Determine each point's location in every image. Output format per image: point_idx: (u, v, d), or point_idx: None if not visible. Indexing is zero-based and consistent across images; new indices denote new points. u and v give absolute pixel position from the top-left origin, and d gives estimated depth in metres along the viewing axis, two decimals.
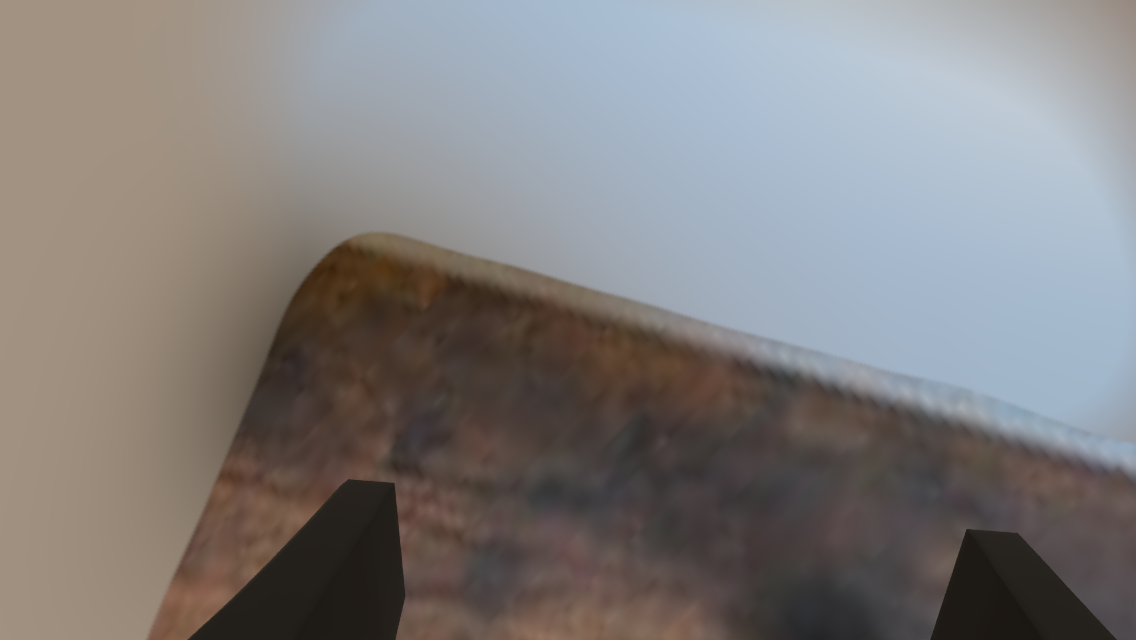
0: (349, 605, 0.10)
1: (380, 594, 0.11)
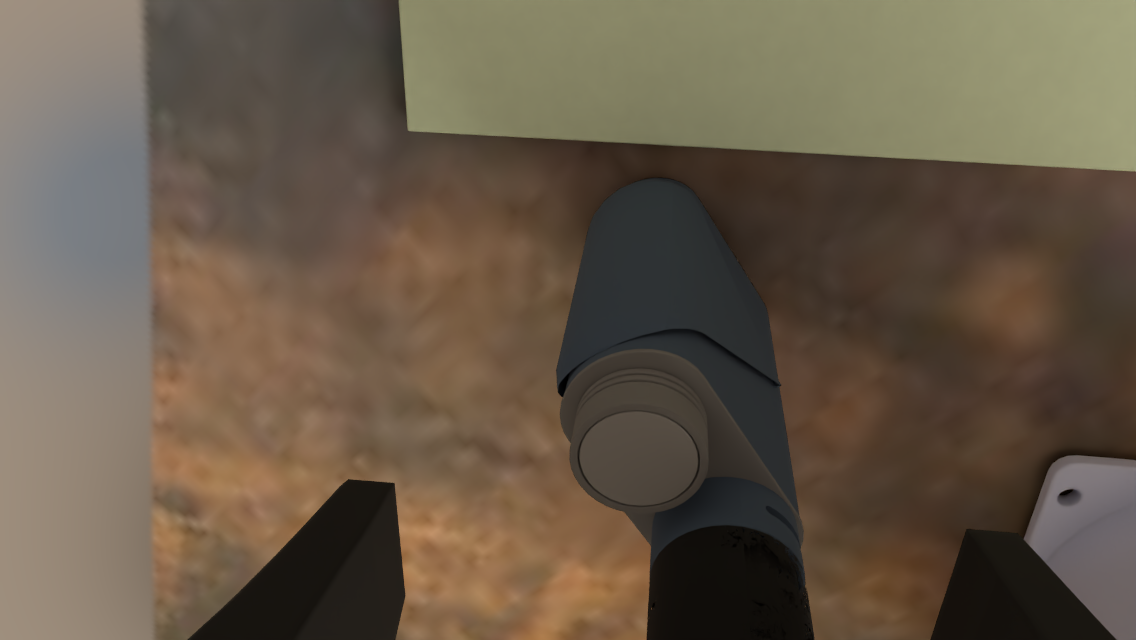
0: (349, 605, 0.10)
1: (380, 594, 0.11)
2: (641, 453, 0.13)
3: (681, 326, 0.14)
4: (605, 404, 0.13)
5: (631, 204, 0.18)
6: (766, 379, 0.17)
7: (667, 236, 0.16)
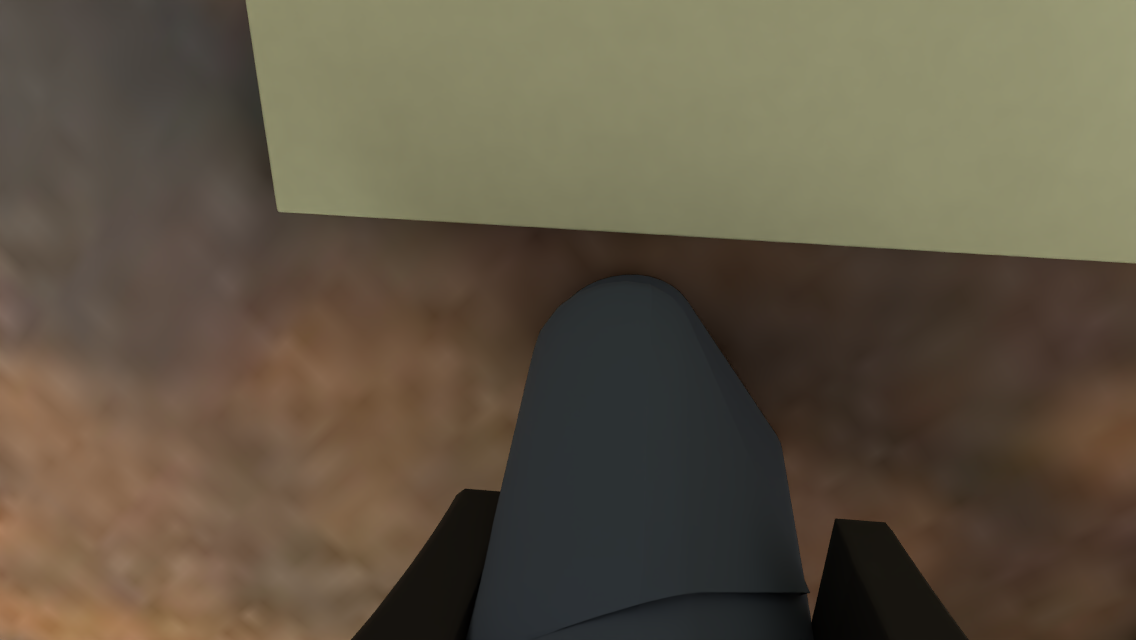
0: None
1: None
2: None
3: (665, 592, 0.08)
4: None
5: (592, 327, 0.12)
6: None
7: (643, 393, 0.11)
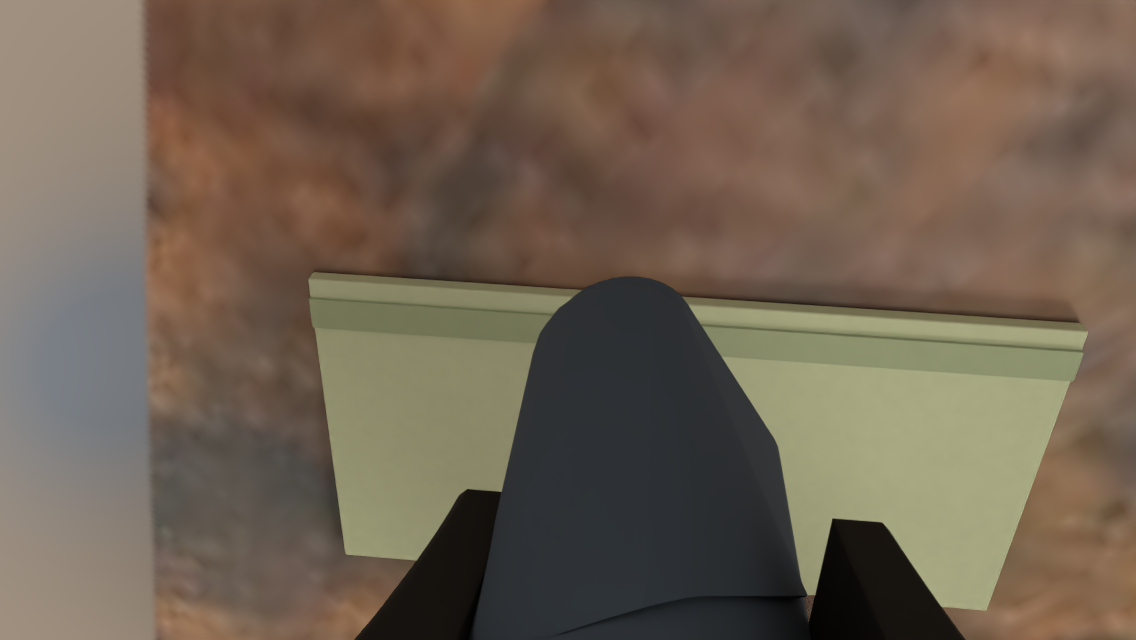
0: None
1: None
2: None
3: (669, 596, 0.08)
4: None
5: (593, 329, 0.12)
6: None
7: (645, 396, 0.11)
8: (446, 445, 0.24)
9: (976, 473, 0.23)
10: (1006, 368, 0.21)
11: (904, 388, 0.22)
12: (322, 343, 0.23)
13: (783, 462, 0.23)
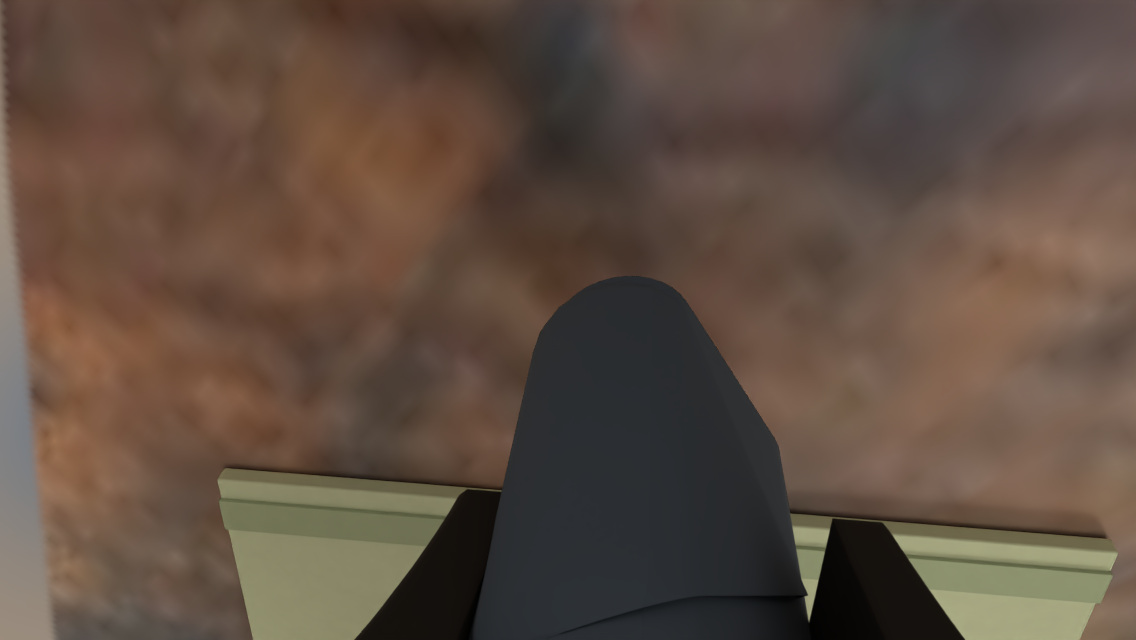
0: None
1: None
2: None
3: (669, 596, 0.08)
4: None
5: (593, 329, 0.12)
6: None
7: (646, 395, 0.11)
8: None
9: None
10: (1022, 589, 0.18)
11: None
12: (237, 544, 0.20)
13: None
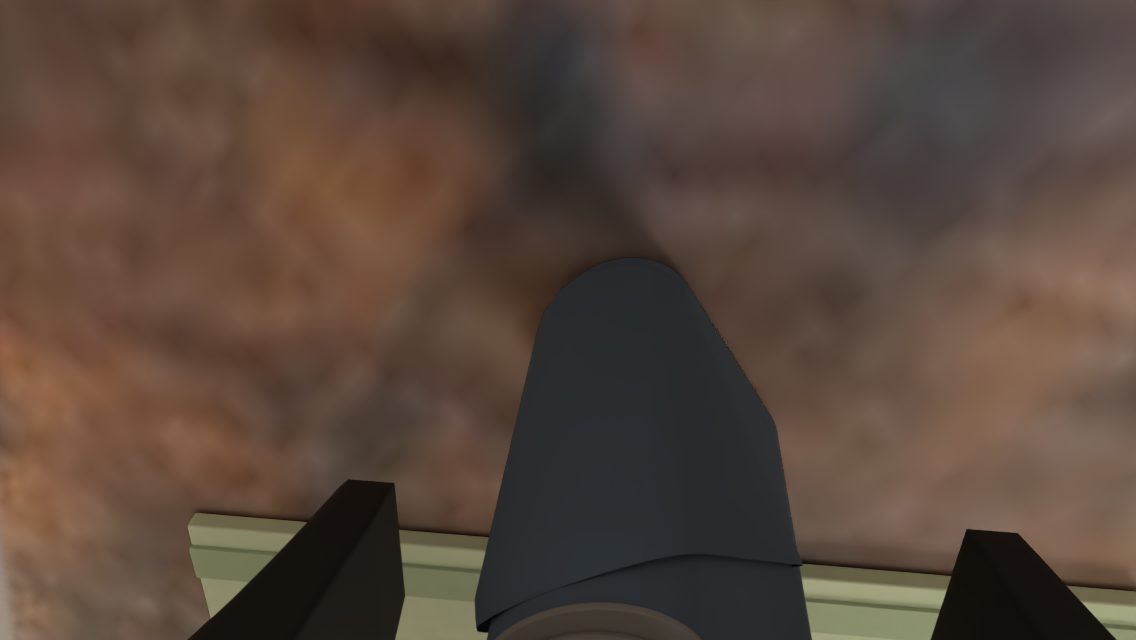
0: (349, 605, 0.10)
1: (380, 594, 0.11)
2: None
3: (668, 552, 0.09)
4: None
5: (596, 306, 0.13)
6: None
7: (646, 368, 0.11)
8: None
9: None
10: None
11: None
12: (210, 592, 0.19)
13: None
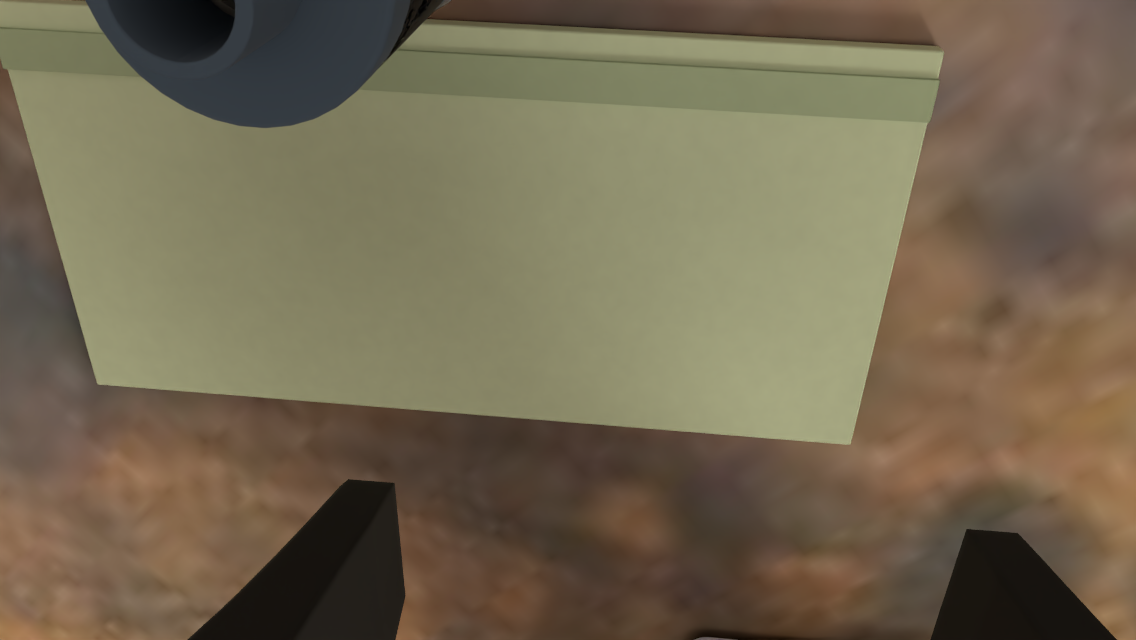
0: (349, 605, 0.10)
1: (380, 594, 0.11)
2: None
3: None
4: None
5: None
6: None
7: None
8: (190, 232, 0.20)
9: (823, 257, 0.19)
10: (846, 106, 0.17)
11: (726, 139, 0.18)
12: (20, 93, 0.19)
13: (592, 247, 0.19)
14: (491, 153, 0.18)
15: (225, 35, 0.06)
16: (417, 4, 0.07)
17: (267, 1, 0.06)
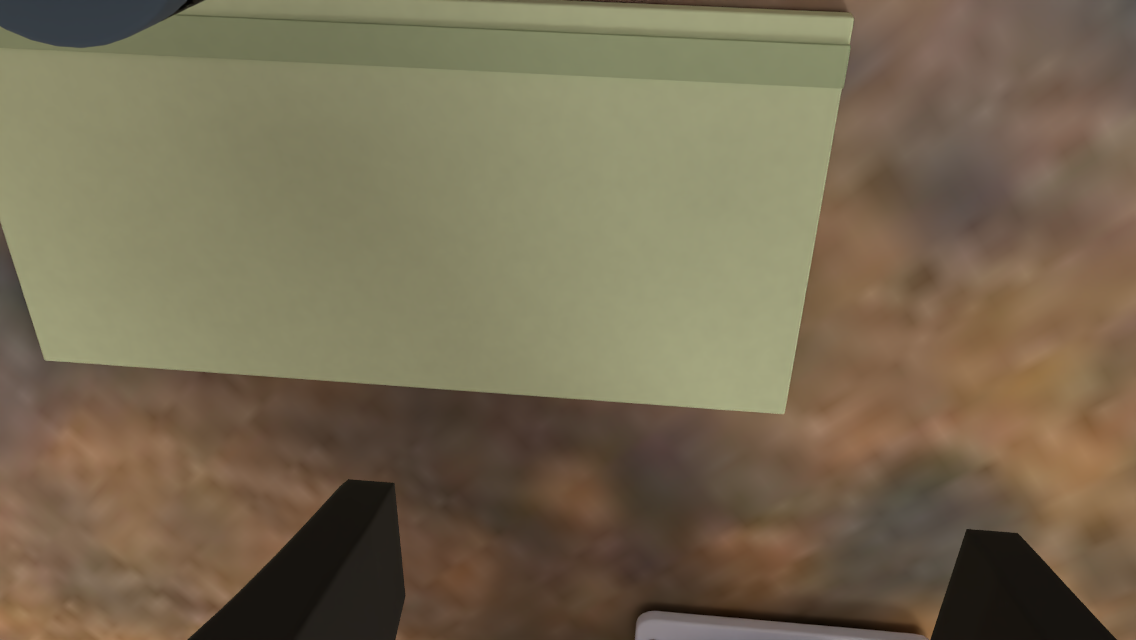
0: (349, 605, 0.10)
1: (380, 594, 0.11)
2: None
3: None
4: None
5: None
6: None
7: None
8: (128, 207, 0.20)
9: (747, 225, 0.19)
10: (761, 73, 0.17)
11: (646, 107, 0.18)
12: None
13: (520, 217, 0.19)
14: (417, 124, 0.19)
15: None
16: None
17: None
